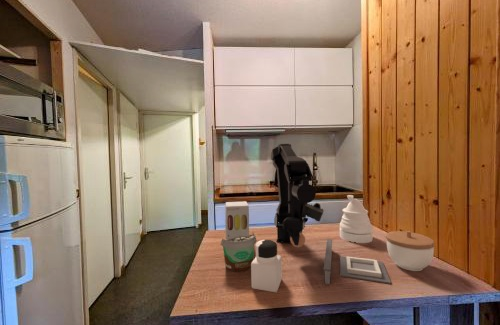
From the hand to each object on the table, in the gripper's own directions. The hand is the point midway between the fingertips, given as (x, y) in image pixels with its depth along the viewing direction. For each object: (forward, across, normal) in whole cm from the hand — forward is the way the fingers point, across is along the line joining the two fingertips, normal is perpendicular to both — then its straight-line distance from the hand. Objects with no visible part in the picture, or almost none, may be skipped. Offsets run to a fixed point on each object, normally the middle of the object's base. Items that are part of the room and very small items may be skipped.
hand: (297, 242), depth 79 cm
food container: (+7, -11, +16) cm, 20 cm away
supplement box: (+6, +8, +26) cm, 28 cm away
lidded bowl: (+7, +7, -34) cm, 35 cm away
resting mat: (+6, 0, -20) cm, 21 cm away
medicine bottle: (+7, -17, +6) cm, 19 cm away
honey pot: (+7, +29, -20) cm, 36 cm away
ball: (-1, 0, 0) cm, 1 cm away
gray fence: (+6, 0, -10) cm, 12 cm away
